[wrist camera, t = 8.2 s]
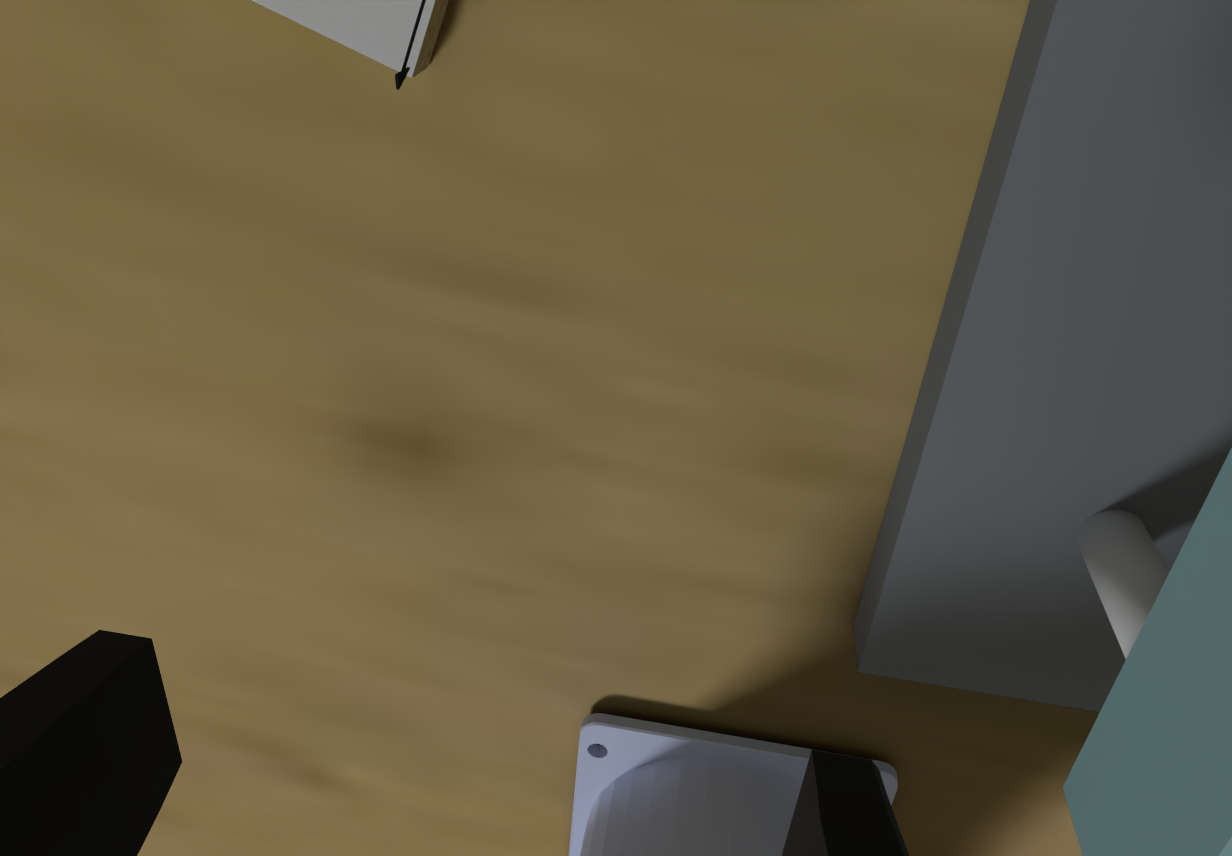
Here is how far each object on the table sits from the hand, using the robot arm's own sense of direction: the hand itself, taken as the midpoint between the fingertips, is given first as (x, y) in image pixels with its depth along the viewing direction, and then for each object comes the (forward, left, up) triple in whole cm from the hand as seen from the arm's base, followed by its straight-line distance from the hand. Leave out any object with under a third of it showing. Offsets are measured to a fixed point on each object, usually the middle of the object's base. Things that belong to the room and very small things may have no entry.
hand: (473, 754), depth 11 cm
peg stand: (+3, -11, -10) cm, 15 cm away
